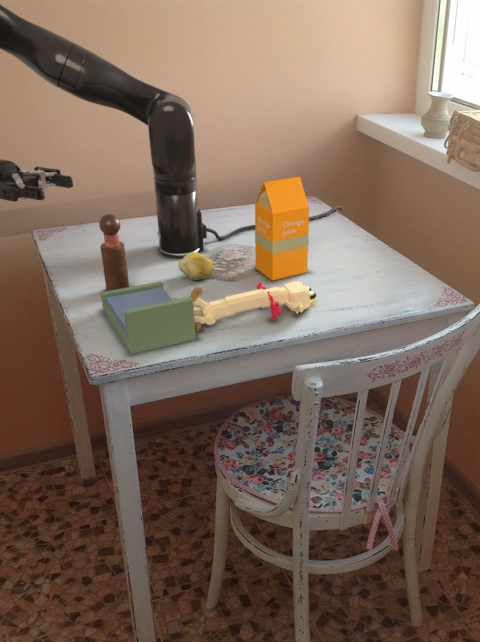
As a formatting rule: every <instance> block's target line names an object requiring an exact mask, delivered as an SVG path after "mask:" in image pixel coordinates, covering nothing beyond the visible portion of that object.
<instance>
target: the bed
mask: <svg viewBox="0 0 480 642" xmlns="http://www.w3.org/2000/svg"><path fill="white" fill-rule="evenodd" d="M100 297H101V303H102V310H103V312H104V314H105V316H106V317H107V319H108V321H109V322H110V324H111V326H112V327H113V328H114V330H115V332H116V333H117V335H118V336H119V338H120V339H121V341H122V343H123V345H125V347H126V349H127V350H128V352H129V353H130V355H132V354H133V355H134V354H139V353H143V352H147V351H152V350H157V349H160V348H164V347H170V346H174V345H178V344H182V343H187V342H191V341H195V340H196V338H197V337H196V330H195V322H194V308H195V307H194V303H193V299H192V298H191V297H190V296H189V297H184V298H179V299H172V297H170V295H169V294H168V292H166V291H165V289H164V282H163V281H153V282H150V283H144V284H138V285H133V286H129V287H127V288H122V289H116V290H111V291H107V290H105V291H101V292H100Z"/></svg>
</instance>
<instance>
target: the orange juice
mask: <svg viewBox="0 0 480 642" xmlns="http://www.w3.org/2000/svg"><path fill="white" fill-rule="evenodd" d="M301 178H302V177H301V175H298V176H292V177H285V178H279V179H273V180H267V181H264V182H263V183H262V186H261V189H260V191H259V193H258V195H257V198H256V201H255V203H254V225H255V228H254V229H255V230H254V243H255V250H254V251H255V269H256V270H257V271H259V272H260V273H262V274H263V275H265V276H266V277H267V278H268V279H270V280H271V281H275V280H280V279H284V278H288V277H289V278H290V277H293V276H298V275H301V274H306V273H308V257H309V254H308V253H309V236H310V235H309V228H310V227H309V225H310V223H309V222H310V220H309V217H310V207H309V203H308V200H307V197H306V193H305V189H304V186H303V182H302V179H301Z"/></svg>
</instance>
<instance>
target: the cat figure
mask: <svg viewBox="0 0 480 642" xmlns="http://www.w3.org/2000/svg"><path fill="white" fill-rule="evenodd" d="M203 294H204V289H203V287H202V286H201V285H197V286H196V285H195V286H194V288H193V289H192V290H191V292H190V295H189V297H191V298H192V299H193V304H194V305H196V306H200V307H194V322H195V332H198V331H201V330H202V325H203V324H206V325H207V326H211V325H215V323H216V322H217V321H219V320H220V319H223V318H227V317H232V316H235V314H239V313H242V312H247V311H252V310H256V309H259V308H261V309H265V308H270V313H271V317H270V321H275V320H276V319H277V317H278V316H281V315H282V309H281V308H280V307H281V306H285V305H286V306H287V307H288V309H289V310H290V311H292V312H295V314H297V315H298V314H299V312H300V313H301V314H302V313H303V312H304V310H308V309H309V307H310V306H313V305H315V303H316V302H317V301H319V298H316V297H317V293H316V292H315V291H314V290H312V288H311V287H310V286H309V285H305V284H303V282H301V281H298V280H297V281H293V282H292V281H291V282H288V283H285V284H284V285H283V286H281V287H279V286H275V287H269V288H267V287H266V286H264V285H263V283H262V282H260V281H259V282H257V284H256V289H254V290H250V291H245V292H242V293H237V294H232V295H229V296H225V297H224V298H221V299H217V300H213V301H210V302H209V303H208V302H207V301H204V299H202V298H201V297H200V296H203Z"/></svg>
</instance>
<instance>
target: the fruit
mask: <svg viewBox="0 0 480 642" xmlns="http://www.w3.org/2000/svg"><path fill="white" fill-rule="evenodd" d="M177 266H178V268H179V271H181V273H183V274H184V275H185V276H186V277H187V278H188V279H190V280H193V281H199V280H203V279H205V278H209V277H210V276H211V275H212V273H213V271H219V272H221V271H225V269H224V268H221V267H214V265H213V261H212V260H211V259H210V258H207V257H206V256H205V255H203V254H202V253H201V252H199V253H197V252H191V253H189V254H187V255H186V256H184V257H182V259H180V260H178V261H177Z"/></svg>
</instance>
